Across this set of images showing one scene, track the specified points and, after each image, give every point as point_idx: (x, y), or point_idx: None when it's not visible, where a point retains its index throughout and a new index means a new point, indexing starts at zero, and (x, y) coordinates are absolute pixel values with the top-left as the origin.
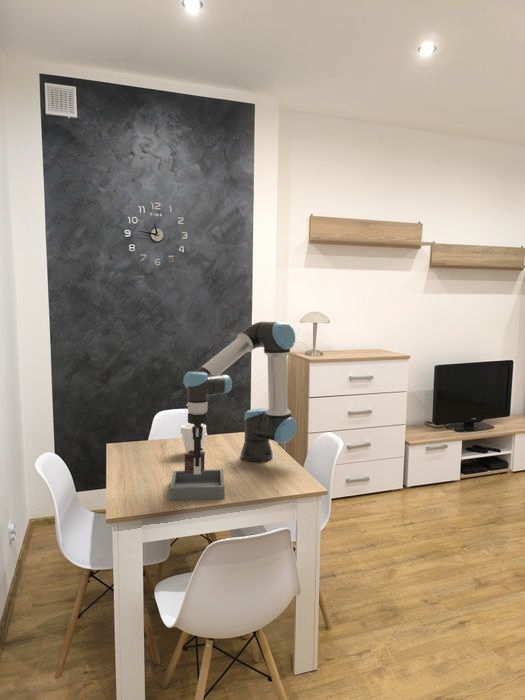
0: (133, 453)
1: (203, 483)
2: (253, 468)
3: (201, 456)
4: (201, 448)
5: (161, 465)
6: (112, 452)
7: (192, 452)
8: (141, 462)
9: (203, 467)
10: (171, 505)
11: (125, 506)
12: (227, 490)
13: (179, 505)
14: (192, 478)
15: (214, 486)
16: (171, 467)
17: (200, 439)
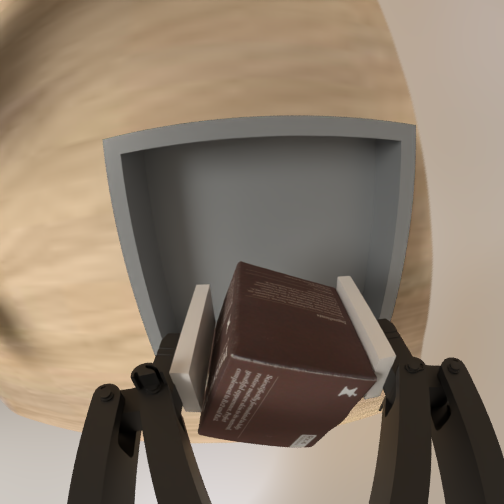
0: (26, 398)
1: (198, 228)
2: (16, 49)
3: (323, 354)
4: (137, 383)
5: (52, 364)
6: (42, 422)
7: (264, 427)
8: (57, 397)
9: (262, 275)
10: (401, 316)
11: (366, 403)
12: (281, 100)
13: (409, 294)
14: (162, 285)
15: (408, 178)
16: (52, 343)
17: (501, 494)
